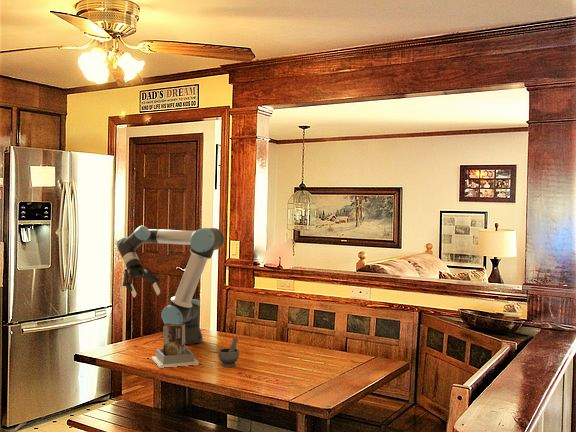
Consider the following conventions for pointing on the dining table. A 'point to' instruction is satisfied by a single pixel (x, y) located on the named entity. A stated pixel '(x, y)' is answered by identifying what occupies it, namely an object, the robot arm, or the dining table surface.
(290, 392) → the dining table surface
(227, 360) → the mortar and pestle
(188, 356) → the collar tray
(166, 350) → the coffee box
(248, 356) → the dining table surface
